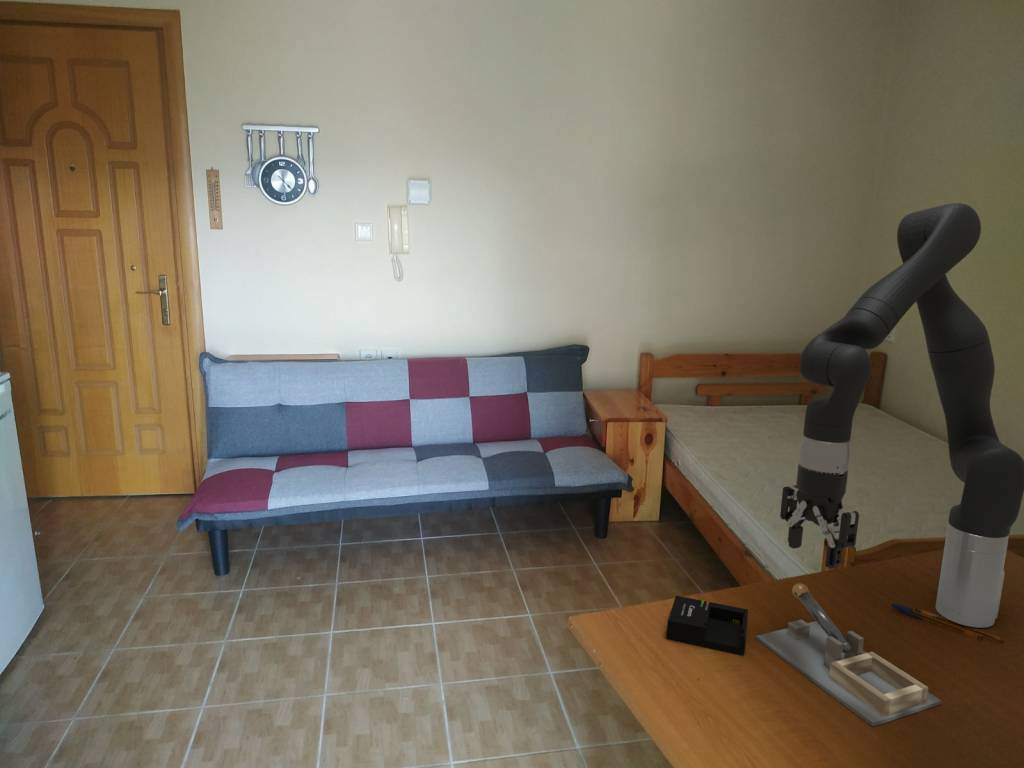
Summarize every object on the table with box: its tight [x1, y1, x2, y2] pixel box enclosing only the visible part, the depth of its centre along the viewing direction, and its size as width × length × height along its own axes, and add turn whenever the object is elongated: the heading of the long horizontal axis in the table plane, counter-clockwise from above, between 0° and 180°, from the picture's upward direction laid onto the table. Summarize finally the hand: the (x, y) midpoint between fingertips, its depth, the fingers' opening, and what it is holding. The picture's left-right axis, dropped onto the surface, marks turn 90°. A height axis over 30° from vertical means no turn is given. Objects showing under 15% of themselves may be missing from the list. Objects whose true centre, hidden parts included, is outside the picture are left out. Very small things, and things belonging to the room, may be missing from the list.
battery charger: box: [665, 595, 749, 657], centre depth 122 cm, size 13×10×4 cm
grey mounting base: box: [755, 619, 942, 728], centre depth 112 cm, size 14×24×6 cm, turn 22°
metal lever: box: [791, 583, 851, 653], centre depth 116 cm, size 3×13×3 cm, turn 22°
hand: (812, 556), depth 116 cm, fingers open, 7 cm apart
